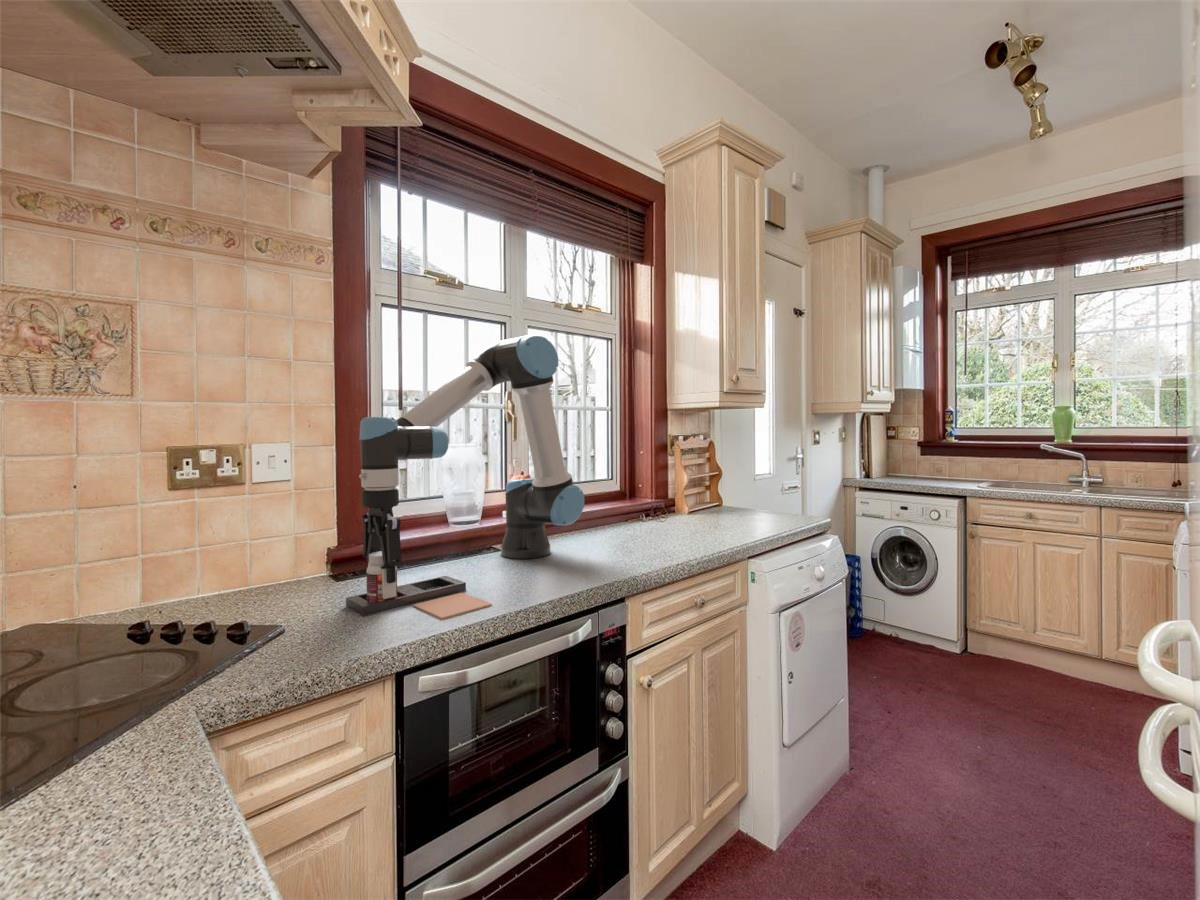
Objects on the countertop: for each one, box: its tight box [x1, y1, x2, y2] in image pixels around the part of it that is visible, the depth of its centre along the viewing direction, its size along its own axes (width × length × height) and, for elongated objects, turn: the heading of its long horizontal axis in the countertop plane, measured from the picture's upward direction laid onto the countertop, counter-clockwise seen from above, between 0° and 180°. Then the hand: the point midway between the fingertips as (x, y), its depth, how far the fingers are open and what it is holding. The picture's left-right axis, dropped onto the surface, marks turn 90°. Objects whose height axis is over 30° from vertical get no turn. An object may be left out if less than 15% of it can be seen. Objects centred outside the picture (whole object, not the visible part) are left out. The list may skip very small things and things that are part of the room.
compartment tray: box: [345, 575, 467, 617], centre depth 122 cm, size 24×9×2 cm, turn 136°
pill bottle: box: [365, 550, 398, 603], centre depth 118 cm, size 6×6×11 cm
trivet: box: [412, 592, 493, 621], centre depth 117 cm, size 12×12×1 cm
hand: (382, 593), depth 118 cm, fingers closed on pill bottle, 6 cm apart
